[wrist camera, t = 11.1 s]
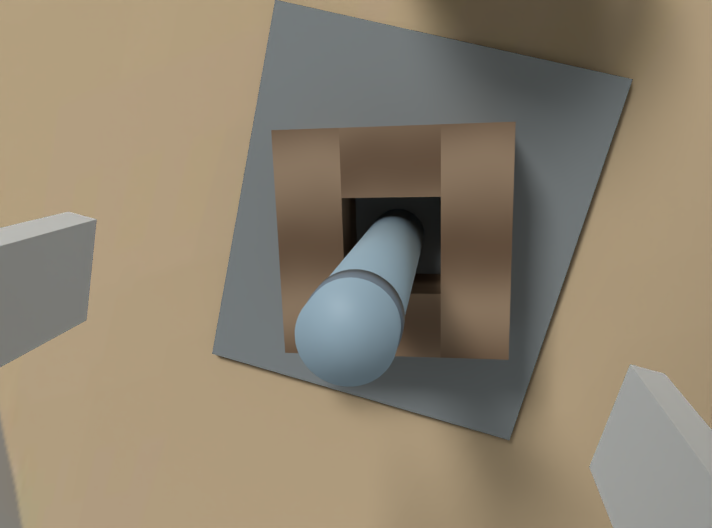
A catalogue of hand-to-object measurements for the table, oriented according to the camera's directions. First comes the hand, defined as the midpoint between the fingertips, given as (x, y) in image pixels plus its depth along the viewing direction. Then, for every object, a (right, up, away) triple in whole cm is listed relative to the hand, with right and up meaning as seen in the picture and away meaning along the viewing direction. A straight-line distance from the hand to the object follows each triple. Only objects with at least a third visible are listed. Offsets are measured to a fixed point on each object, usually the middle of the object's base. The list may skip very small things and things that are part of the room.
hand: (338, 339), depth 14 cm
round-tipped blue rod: (+3, +3, +17) cm, 18 cm away
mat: (+3, +4, +17) cm, 18 cm away
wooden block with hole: (+3, +4, +17) cm, 18 cm away
